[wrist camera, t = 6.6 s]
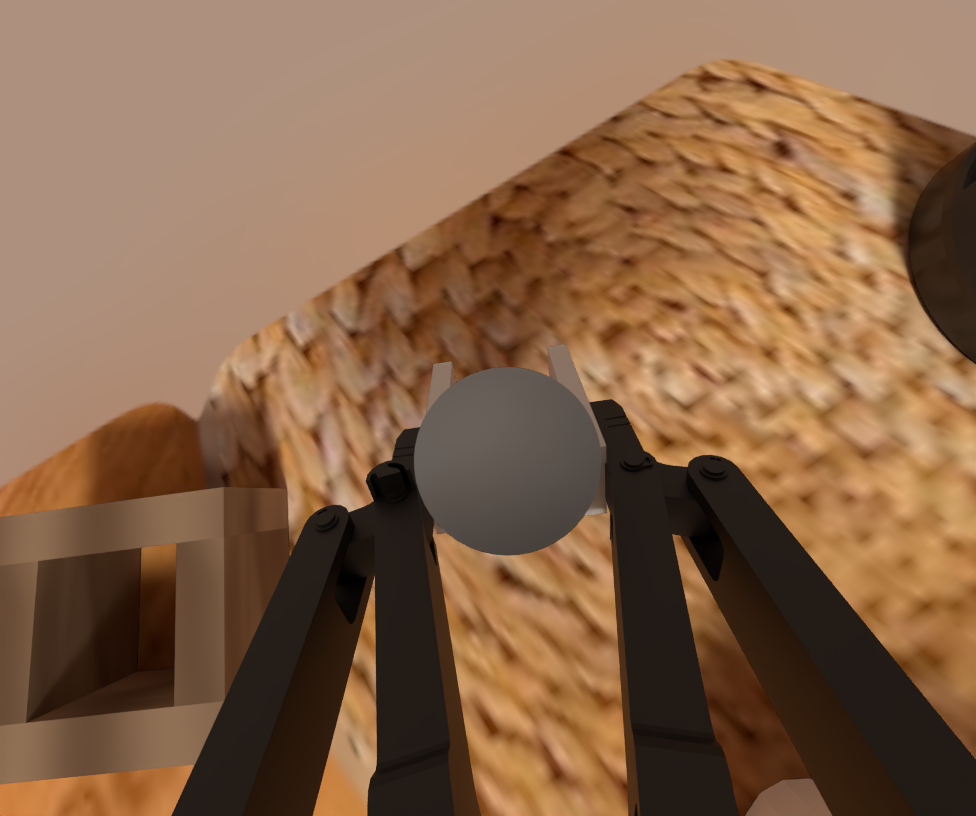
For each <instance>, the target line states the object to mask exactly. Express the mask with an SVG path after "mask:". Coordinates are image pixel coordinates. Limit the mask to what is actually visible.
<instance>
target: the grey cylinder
mask: <svg viewBox="0 0 976 816" xmlns="http://www.w3.org/2000/svg"><path fill="white" fill-rule="evenodd" d="M601 458H602V457H601V448H600V442H599V438H598V434H597V431H596V428H595V426H594V423H593V421H592V419H591V417H590V415H589V414H588V412H587V410H586V409H585V407H584V406H583V405H582V403H581V402H580V400H579V399H578V398H577V397H576V396H575V395H574V394H573V393H572V392H571V391H570V390H568V389H567V388H566V387H565V386H563V385H562V384H561V383H559V382H557V381H556V380H554V379H553V378H551V377H549V376H546V375H544V374H542V373H539V372H536V371H533V370H529V369H524V368H518V367H498V368H491V369H486V370H482V371H479V372H476V373H473V374H471V375H469V376H467V377H465V378H463V379H461V380H459V381H458V382H456V383H455V384H453V385H452V386H450V387H449V388H448V389H447V390H446V391H445V392H443V393H442V394H441V395H440V397H439V398H438V399H437V400H436V401H435V402H434V403H433V405H432V406H431V408H430V409H429V411H428V412H427V414H426V416H425V418H424V420H423V422H422V424H421V427H420V429H419V432H418V435H417V440H416V444H415V452H414V471H415V477H416V483H417V486H418V490H419V493H420V495H421V498H422V500H423V502H424V504H425V506H426V508H427V509H428V511H429V513H430V514H431V516H432V517H433V518H434V520H435V521H436V522H437V523H438V525H439V526H440V527H441V528H442V529H444V530H445V531H446V532H447V533H448V534H449V535H450V536H452V537H453V538H455V539H456V540H457V541H459V542H461V543H463V544H465V545H466V546H468V547H470V548H473V549H476V550H479V551H481V552H486V553H490V554H496V555H520V554H526V553H531V552H534V551H537V550H540V549H543V548H545V547H547V546H549V545H551V544H553V543H555V542H557V541H558V540H560V539H561V538H563V537H564V536H565V535H567V534H568V533H569V532H570V531H571V530H572V529H573V528H574V527H575V526H576V525H577V524H578V523H579V522H580V520H581V519H582V518H583V517H584V515H585V514H586V512H587V511H588V509H589V507H590V506H591V504H592V501H593V499H594V497H595V495H596V491H597V488H598V485H599V481H600V474H601Z"/></svg>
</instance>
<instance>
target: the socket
mask: <svg viewBox="0 0 976 816" xmlns="http://www.w3.org/2000/svg"><path fill="white" fill-rule="evenodd" d="M173 543H177V549H176V615H175V668H166V669H157V670H148V671H140V672H137V654H138V621H139V589H140V556H141V548H142V547H150V546H158V545H166V544H173ZM288 560H289V535H288V506H287V489H282V488H241V487H220V488H213V489H206V490H198V491H191V492H183V493H176V494H169V495H161V496H154V497H146V498H139V499H132V500H124V501H117V502H109V503H102V504H95V505H87V506H80V507H73V508H65V509H58V510H50V511H43V512H36V513H28V514H21V515H13V516H6V517H0V784H8V783H18V782H28V781H37V780H47V779H57V778H67V777H77V776H86V775H96V774H106V773H116V772H125V771H135V770H145V769H155V768H164V767H174V766H184V765H194V764H195V763H196V761H197V759H198V757H199V755H200V752H201V750H202V748H203V746H204V744H205V741H206V739H207V737H208V735H209V733H210V730H211V728H212V726H213V724H214V722H215V720H216V717H217V715H218V713H219V711H220V709H221V706H222V704H223V702H224V700H225V698H226V696H227V693H228V691H229V689H230V687H231V685H232V682H233V680H234V678H235V676H236V674H237V672H238V669H239V667H240V665H241V663H242V661H243V658H244V656H245V654H246V652H247V650H248V648H249V645H250V643H251V641H252V639H253V637H254V634H255V632H256V630H257V628H258V626H259V623H260V621H261V619H262V617H263V615H264V613H265V610H266V608H267V606H268V604H269V602H270V599H271V597H272V595H273V593H274V591H275V589H276V586H277V584H278V582H279V580H280V578H281V575H282V573H283V571H284V569H285V567H286V565H287V562H288Z"/></svg>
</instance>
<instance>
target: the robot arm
mask: <svg viewBox="0 0 976 816" xmlns="http://www.w3.org/2000/svg"><path fill="white" fill-rule="evenodd" d="M909 252H910V261H911V267H912V271H913V276H914V279H915V282H916V285H917V288H918V290H919V293H920V295H921V297H922V299H923V301H924V303H925V305H926V307H927V309H928V310H929V312H930V314H931V315H932V317H933V318H934V320H935V321H936V323H937V324H938V325H939V327H940V328H941V329H942V331H943V332H944V333H945V334H946V335H947V337H948V338H949V339H950V340H951V341H952V342H953V343H954V344H955V345H956V346H957V347H958V348H959V349H960V350H961V351H962V352H963V353H964V354H966V355H967V356H968V357H969V358H970V359H971V360H973V361H974V362H975V363H976V142H975V143H974V144H972V145H971V146H970V147H968V148H967V149H966V150H965V151H963V152H962V153H961V154H959V155H958V156H957V157H955V158H954V159H953V160H952V161H950V162H949V163H948V164H947V165H946V166H944V167H943V168H942V169H941V170H940V171H939V172H938V173H937V174H936V175H935V177H934V178H933V179H932V180H931V181H930V183H929V184H928V186H927V187H926V189H925V190H924V192H923V194H922V195H921V197H920V199H919V201H918V204H917V206H916V209H915V212H914V215H913V218H912V223H911V228H910V237H909ZM547 350H548V362H549V373H550V377H551V378H553V379H554V380H556V381H557V382H559V383H561V384H562V385H563V386H565V387H566V388H567V389H568V390H570V391H571V392H572V393H573V394H574V395H575V396H576V397H577V398H578V399H579V400H580V402H581V403H582V405H583V406H584V407H585V409H586V410H587V412H588V414H589V415H590V417H591V419H592V421H593V423H594V426H595V428H596V431H597V434H598V438H599V442H600V448H601V457H602V458H601V474H600V481H599V485H598V488H597V491H596V495H595V497H594V499H593V501H592V504H591V506H590V507H589V509H588V511H587V512H586V514H585V515H593V514H601V513H607V505H608V508H609V511H610V540H611V545H612V560H613V574H614V589H615V604H616V619H617V634H618V649H619V663H620V678H621V693H622V708H623V723H624V738H625V752H626V767H627V785H628V814H629V816H739V815H738V810H737V805H736V801H735V796H734V792H733V787H732V783H731V778H730V773H729V770H728V766H727V762H726V758H725V755H724V752H723V750H722V747H721V746H720V744H719V743H718V742H717V740H716V739H715V736H714V733H713V729H712V725H711V720H710V715H709V711H708V706H707V701H706V696H705V691H704V686H703V682H702V677H701V672H700V667H699V662H698V657H697V652H696V648H695V643H694V638H693V633H692V628H691V623H690V619H689V614H688V609H687V604H686V599H685V594H684V589H683V585H682V580H681V575H680V570H679V565H678V560H677V556H676V551H675V546H674V541H673V536H672V534H674V535H681V538H682V540H683V542H684V544H685V545H686V547H687V549H688V551H689V553H690V555H691V556H692V558H693V560H694V562H695V564H696V566H697V568H698V569H699V571H700V573H701V575H702V577H703V579H704V580H705V582H706V584H707V586H708V588H709V590H710V591H711V593H712V595H713V597H714V599H715V601H716V603H717V604H718V606H719V608H720V610H721V612H722V614H723V615H724V617H725V619H726V621H727V623H728V625H729V626H730V628H731V630H732V632H733V634H734V636H735V638H736V639H737V641H738V643H739V645H740V647H741V649H742V650H743V652H744V654H745V656H746V658H747V660H748V661H749V663H750V665H751V667H752V669H753V671H754V673H755V674H756V676H757V678H758V680H759V682H760V684H761V685H762V687H763V689H764V691H765V693H766V695H767V696H768V698H769V700H770V702H771V704H772V706H773V708H774V709H775V711H776V713H777V715H778V717H779V719H780V720H781V722H782V724H783V726H784V728H785V730H786V731H787V733H788V735H789V737H790V739H791V741H792V743H793V744H794V746H795V748H796V750H797V752H798V754H799V755H800V757H801V759H802V761H803V763H804V765H805V766H806V768H807V770H808V772H809V774H810V776H811V778H812V779H813V781H814V783H815V785H816V787H817V789H818V790H819V792H820V794H821V796H822V798H823V800H824V801H825V803H826V805H827V807H828V809H829V811H830V813H831V814H832V816H976V760H975V758H974V757H973V756H972V755H971V753H970V752H969V751H968V750H967V748H966V747H965V746H964V745H963V744H962V742H961V741H960V740H959V739H958V737H957V736H956V735H955V734H954V732H953V731H952V730H951V729H950V728H949V726H948V725H947V724H946V723H945V721H944V720H943V719H942V718H941V717H940V715H939V714H938V713H937V712H936V710H935V709H934V708H933V707H932V705H931V704H930V703H929V702H928V701H927V699H926V698H925V697H924V696H923V694H922V693H921V692H920V691H919V689H918V688H917V687H916V686H915V685H914V683H913V682H912V681H911V680H910V678H909V677H908V676H907V675H906V673H905V672H904V671H903V670H902V669H901V667H900V666H899V665H898V664H897V662H896V661H895V660H894V659H893V657H892V656H891V655H890V654H889V653H888V651H887V650H886V649H885V648H884V646H883V645H882V644H881V643H880V641H879V640H878V639H877V638H876V637H875V635H874V634H873V633H872V632H871V630H870V629H869V628H868V627H867V626H866V624H865V623H864V622H863V621H862V619H861V618H860V617H859V616H858V614H857V613H856V612H855V611H854V610H853V608H852V607H851V606H850V605H849V603H848V602H847V601H846V600H845V598H844V597H843V596H842V595H841V594H840V592H839V591H838V590H837V589H836V587H835V586H834V585H833V584H832V582H831V581H830V580H829V579H828V578H827V576H826V575H825V574H824V573H823V571H822V570H821V569H820V568H819V566H818V565H817V564H816V563H815V562H814V560H813V559H812V558H811V557H810V555H809V554H808V553H807V552H806V551H805V549H804V548H803V547H802V546H801V544H800V543H799V542H798V541H797V539H796V538H795V537H794V536H793V535H792V533H791V532H790V531H789V530H788V528H787V527H786V526H785V525H784V523H783V522H782V521H781V520H780V519H779V517H778V516H777V515H776V514H775V512H774V511H773V510H772V509H771V507H770V506H769V505H768V504H767V503H766V501H765V500H764V499H763V498H762V496H761V495H760V494H759V493H758V491H757V490H756V489H755V488H754V487H753V485H752V484H751V483H750V482H749V480H748V479H747V478H746V477H745V475H744V474H743V473H742V472H741V471H740V469H739V468H738V467H737V466H736V465H735V464H734V463H732V462H731V461H729V460H727V459H725V458H723V457H719V456H714V455H702V456H698V457H695V458H693V459H692V460H691V461H690V462H689V464H688V467H681V466H671V465H665V464H662V463H659V462H657V461H656V460H655V458H654V457H653V456H652V455H651V454H649V453H647V452H645V451H644V450H643V448H642V446H641V444H640V442H639V440H638V438H637V436H636V434H635V432H634V430H633V428H632V426H631V425H630V422H629V420H628V418H627V417H626V414H625V412H624V410H623V408H622V406H620V405H619V404H618V403H616V402H615V401H613V400H612V399H610V400H603V401H596V402H589V401H588V399H587V396H586V393H585V391H584V388H583V386H582V383H581V381H580V378H579V376H578V373H577V371H576V368H575V366H574V363H573V361H572V358H571V356H570V353H569V351H568V348H567V346H566V344H563V345H557V346H550V347H547ZM455 383H456V377H455V373H454V369H453V364H452V361H450V362H443V363H437V364H434V366H433V372H432V378H431V385H430V391H429V397H428V404H427V410H426V414H427V412H428V411H429V409H430V408H431V406H432V405H433V403H434V402H435V401H436V400H437V399H438V398H439V397H440V395H441V394H442V393H443V392H445V391H446V390H447V389H448V388H449V387H450V386H452V385H453V384H455ZM419 429H420V427H418V428H411V429H404V431H403V432H402V433H401V434H400V436H399V437H398V438H397V440H396V444H395V448H394V449H395V451H394V453H393V459H392V461H386V462H384V463H381V464H379V465H377V466H376V467H375V468H373V469H372V470H371V471H370V472H369V474H368V475H367V478H366V483H367V485H368V488H369V490H370V492H371V495H372V497H373V500H374V502H372V503H371V504H369V505H367V506H365V507H362V508H359V509H357V510H354V511H352V512H348V511H347V509H346V508H345V507H343V506H341V505H331V506H327V507H324V508H322V509H320V510H318V511H316V512H315V513H314V514H313V515H312V516H310V517H309V519H308V520H307V522H306V523H305V525H304V527H303V530H302V532H301V534H300V536H299V538H298V541H297V543H296V545H295V547H294V549H293V551H292V554H291V556H290V558H289V560H288V562H287V565H286V567H285V569H284V571H283V573H282V575H281V578H280V580H279V582H278V584H277V586H276V589H275V591H274V593H273V595H272V597H271V599H270V602H269V604H268V606H267V608H266V610H265V613H264V615H263V617H262V619H261V621H260V623H259V626H258V628H257V630H256V632H255V634H254V637H253V639H252V641H251V643H250V645H249V648H248V650H247V652H246V654H245V656H244V658H243V661H242V663H241V665H240V667H239V669H238V672H237V674H236V676H235V678H234V680H233V682H232V685H231V687H230V689H229V691H228V693H227V696H226V698H225V700H224V702H223V704H222V706H221V709H220V711H219V713H218V715H217V717H216V720H215V722H214V724H213V726H212V728H211V730H210V733H209V735H208V737H207V739H206V741H205V744H204V746H203V748H202V750H201V752H200V755H199V757H198V759H197V761H196V763H195V765H194V768H193V770H192V772H191V774H190V776H189V779H188V781H187V783H186V785H185V787H184V789H183V792H182V794H181V796H180V798H179V800H178V803H177V805H176V807H175V809H174V811H173V813H172V816H313V812H314V808H315V804H316V801H317V797H318V793H319V789H320V785H321V781H322V777H323V773H324V770H325V766H326V762H327V758H328V754H329V750H330V746H331V742H332V739H333V735H334V731H335V727H336V723H337V719H338V715H339V712H340V708H341V704H342V700H343V696H344V692H345V688H346V684H347V681H348V677H349V673H350V669H351V665H352V661H353V657H354V653H355V650H356V646H357V642H358V638H359V634H360V630H361V626H362V622H363V619H364V615H365V611H366V607H367V603H368V599H369V595H370V591H371V588H372V584H373V580H374V576H375V622H376V707H377V766H376V771H375V773H374V774H373V776H372V777H371V779H370V784H369V789H368V815H367V816H481V813H480V809H479V805H478V801H477V797H476V792H475V787H474V781H473V775H472V769H471V762H470V756H469V750H468V744H467V737H466V731H465V725H464V719H463V712H462V706H461V700H460V693H459V687H458V681H457V675H456V668H455V662H454V656H453V650H452V643H451V637H450V631H449V625H448V618H447V612H446V606H445V600H444V593H443V587H442V581H441V575H440V568H439V562H438V556H437V550H436V544H435V541H434V538H433V526H435V529H436V532H437V534H442V533H447V532H446V531H445V530H444V529H442V528H441V527H440V526H439V525H438V523H437V522H436V521H435V520H434V518H433V517H432V516H431V514H430V513H429V511H428V509H427V508H426V506H425V504H424V502H423V500H422V498H421V495H420V493H419V490H418V486H417V483H416V477H415V471H414V452H415V444H416V440H417V435H418V432H419ZM585 515H584V516H585Z"/></svg>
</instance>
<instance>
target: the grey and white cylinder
mask: <svg viewBox="0 0 976 816" xmlns="http://www.w3.org/2000/svg"><path fill="white" fill-rule="evenodd" d="M745 816H832V814H831V813H830V811H829V809H828V807H827V805H826V803H825V801H824V800H823V798H822V796H821V794H820V792H819V790H818V789H817V787H816V785H815V783H814V781H813V780H811V779H792V780H782V781H780V782H778V783H776V784H775V785H773V786H771V787H769V788H768V789H766V790H764V791H762V792H761V793H760V794H759V795H758V797H757V798H756V800H755V801H754V803H753V804H752V806H751V807H750V809H749V810H748V812H747V813H746V815H745Z"/></svg>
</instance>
